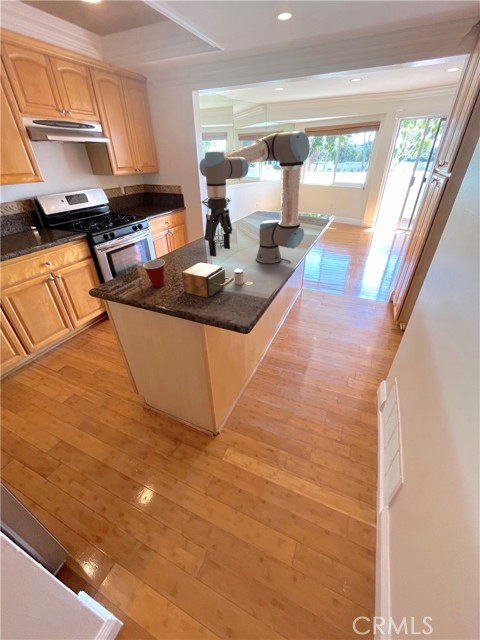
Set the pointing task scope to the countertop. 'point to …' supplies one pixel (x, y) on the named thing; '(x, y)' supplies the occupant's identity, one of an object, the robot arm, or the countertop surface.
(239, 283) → the salt shaker
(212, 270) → the cabinet
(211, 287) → the drawer
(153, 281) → the plastic cup
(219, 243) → the geometric lantern
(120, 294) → the countertop surface
